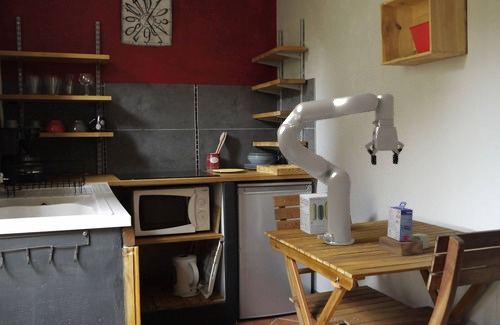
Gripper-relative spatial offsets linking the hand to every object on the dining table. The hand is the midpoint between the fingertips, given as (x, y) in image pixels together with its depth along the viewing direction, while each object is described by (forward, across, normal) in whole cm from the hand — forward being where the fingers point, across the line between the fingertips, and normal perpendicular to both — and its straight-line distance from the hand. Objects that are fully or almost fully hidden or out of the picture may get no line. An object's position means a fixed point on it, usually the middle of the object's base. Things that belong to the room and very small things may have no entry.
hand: (384, 164), depth 217 cm
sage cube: (+33, +8, -15) cm, 37 cm away
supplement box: (+33, -19, +31) cm, 50 cm away
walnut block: (+33, -2, -17) cm, 38 cm away
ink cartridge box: (+28, -2, -17) cm, 33 cm away
